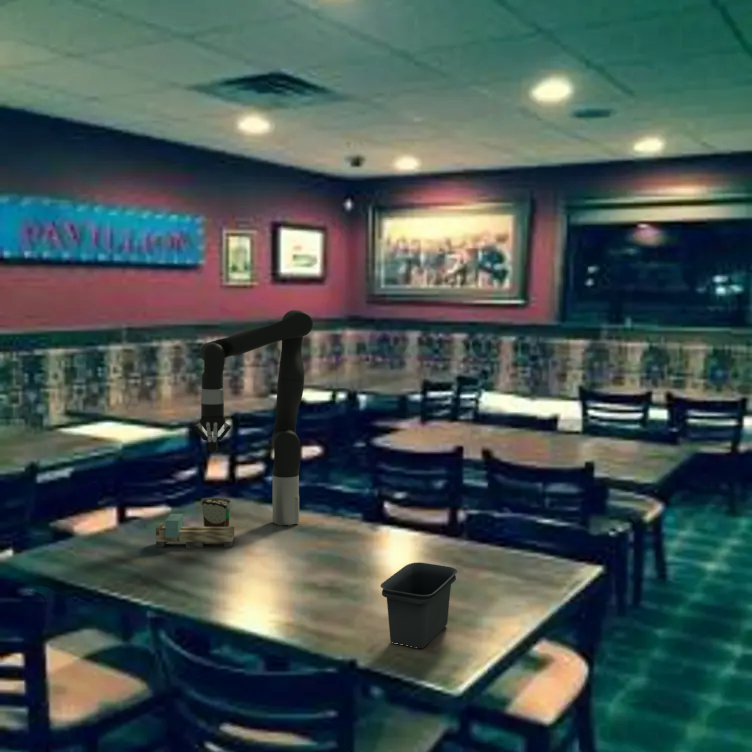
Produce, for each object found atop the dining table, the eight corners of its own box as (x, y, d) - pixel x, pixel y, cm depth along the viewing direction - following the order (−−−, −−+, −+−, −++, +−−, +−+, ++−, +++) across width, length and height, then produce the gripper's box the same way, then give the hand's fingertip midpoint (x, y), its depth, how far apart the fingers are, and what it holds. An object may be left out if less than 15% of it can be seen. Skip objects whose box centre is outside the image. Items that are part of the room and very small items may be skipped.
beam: (234, 542, 277) (234, 522, 277) (231, 548, 271) (231, 528, 270) (160, 541, 276) (160, 522, 276) (155, 547, 270) (155, 528, 269)
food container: (239, 528, 293) (239, 500, 292) (227, 532, 288) (227, 504, 287) (213, 523, 299) (213, 495, 298) (201, 527, 294) (200, 498, 293)
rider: (183, 529, 277) (183, 513, 277) (178, 537, 269) (177, 520, 268) (170, 529, 277) (170, 513, 277) (165, 537, 268) (165, 520, 268)
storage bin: (428, 657, 191) (430, 595, 190) (366, 644, 198) (367, 585, 197) (460, 624, 211) (461, 568, 209) (402, 613, 217) (403, 559, 216)
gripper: (233, 400, 290) (233, 450, 292) (194, 400, 290) (195, 450, 291) (230, 403, 283) (230, 454, 284) (190, 403, 282) (191, 454, 284)
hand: (212, 452), depth 288 cm, fingers closed
